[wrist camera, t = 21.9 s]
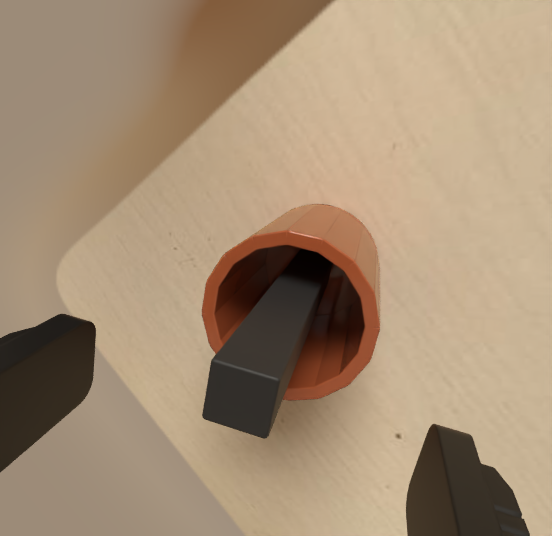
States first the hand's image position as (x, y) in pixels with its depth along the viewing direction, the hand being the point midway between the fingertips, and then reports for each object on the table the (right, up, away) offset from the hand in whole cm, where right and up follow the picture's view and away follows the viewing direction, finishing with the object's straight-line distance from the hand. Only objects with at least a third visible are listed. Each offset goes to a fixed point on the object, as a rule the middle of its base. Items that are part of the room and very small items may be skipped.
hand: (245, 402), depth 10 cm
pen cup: (+3, +3, +13) cm, 13 cm away
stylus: (+3, +3, +12) cm, 13 cm away
